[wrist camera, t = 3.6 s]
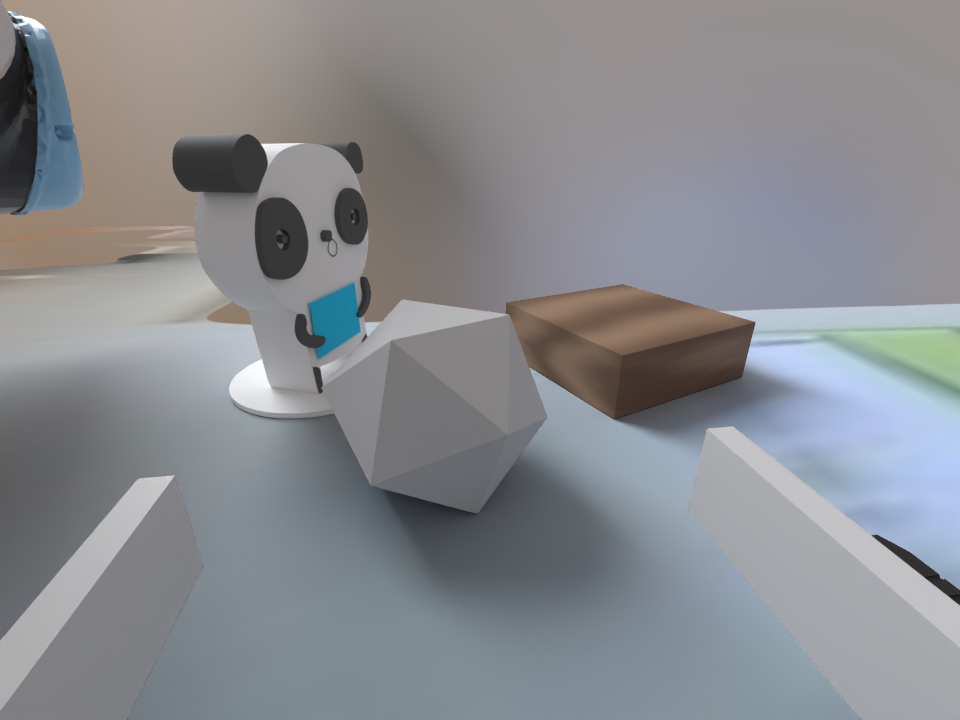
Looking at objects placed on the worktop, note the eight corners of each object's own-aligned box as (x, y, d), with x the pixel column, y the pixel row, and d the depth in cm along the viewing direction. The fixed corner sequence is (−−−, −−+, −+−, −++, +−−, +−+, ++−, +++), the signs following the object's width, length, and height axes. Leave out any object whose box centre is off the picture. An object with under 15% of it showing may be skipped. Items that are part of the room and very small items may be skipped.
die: (565, 467, 23) (497, 291, 25) (584, 500, 15) (477, 224, 16) (412, 522, 24) (355, 347, 25) (342, 586, 15) (260, 312, 17)
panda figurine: (343, 437, 25) (300, 128, 19) (178, 408, 28) (97, 133, 22) (427, 356, 35) (416, 142, 29) (301, 341, 38) (269, 144, 32)
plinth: (505, 351, 36) (506, 302, 35) (617, 327, 41) (622, 284, 40) (614, 419, 26) (622, 355, 25) (741, 376, 32) (755, 322, 30)
